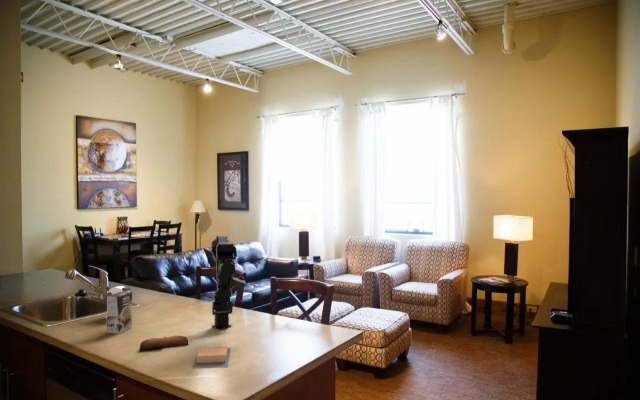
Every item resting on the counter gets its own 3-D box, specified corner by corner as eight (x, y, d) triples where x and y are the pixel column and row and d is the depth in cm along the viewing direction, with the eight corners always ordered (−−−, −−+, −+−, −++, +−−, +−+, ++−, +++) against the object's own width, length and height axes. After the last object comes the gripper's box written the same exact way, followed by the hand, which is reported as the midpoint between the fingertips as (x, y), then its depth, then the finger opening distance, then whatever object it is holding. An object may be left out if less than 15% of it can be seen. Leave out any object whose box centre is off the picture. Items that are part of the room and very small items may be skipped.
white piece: (99, 318, 203) (99, 287, 203) (117, 312, 214) (117, 283, 214) (119, 321, 199) (119, 289, 199) (136, 315, 210) (137, 285, 210)
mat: (199, 350, 163) (199, 348, 163) (230, 349, 165) (230, 347, 165) (192, 370, 144) (192, 368, 144) (227, 368, 146) (227, 367, 146)
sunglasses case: (187, 339, 175) (188, 328, 172) (188, 353, 170) (188, 341, 166) (140, 344, 169) (140, 332, 166) (139, 358, 163) (139, 347, 160)
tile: (200, 347, 158) (196, 356, 149) (227, 345, 159) (225, 354, 150) (199, 354, 158) (196, 363, 149) (227, 353, 159) (225, 362, 150)
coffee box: (119, 334, 181) (119, 296, 181) (105, 333, 182) (106, 295, 182) (132, 327, 190) (132, 292, 190) (119, 326, 191) (120, 291, 191)
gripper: (244, 276, 170) (243, 314, 170) (245, 268, 188) (245, 303, 188) (215, 276, 168) (215, 315, 168) (219, 268, 187) (219, 303, 187)
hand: (225, 309), depth 178 cm, fingers closed
